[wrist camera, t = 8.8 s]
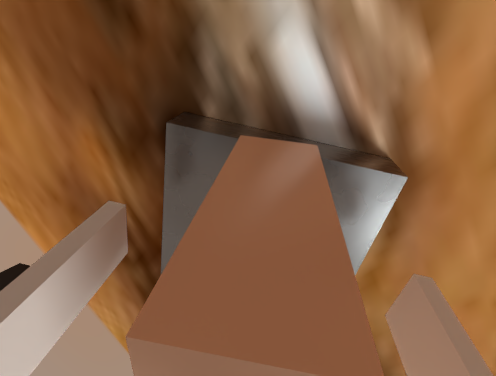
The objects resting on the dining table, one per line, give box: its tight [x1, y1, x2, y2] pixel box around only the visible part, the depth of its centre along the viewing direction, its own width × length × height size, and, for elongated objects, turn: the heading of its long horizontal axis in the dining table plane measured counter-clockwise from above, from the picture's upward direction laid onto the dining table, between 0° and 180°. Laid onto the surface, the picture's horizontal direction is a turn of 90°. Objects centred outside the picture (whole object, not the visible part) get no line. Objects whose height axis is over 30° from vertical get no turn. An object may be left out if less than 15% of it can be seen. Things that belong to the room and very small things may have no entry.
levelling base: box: [161, 112, 408, 274], centre depth 18 cm, size 20×12×4 cm, turn 169°
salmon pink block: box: [126, 135, 384, 376], centre depth 10 cm, size 9×4×11 cm, turn 175°
